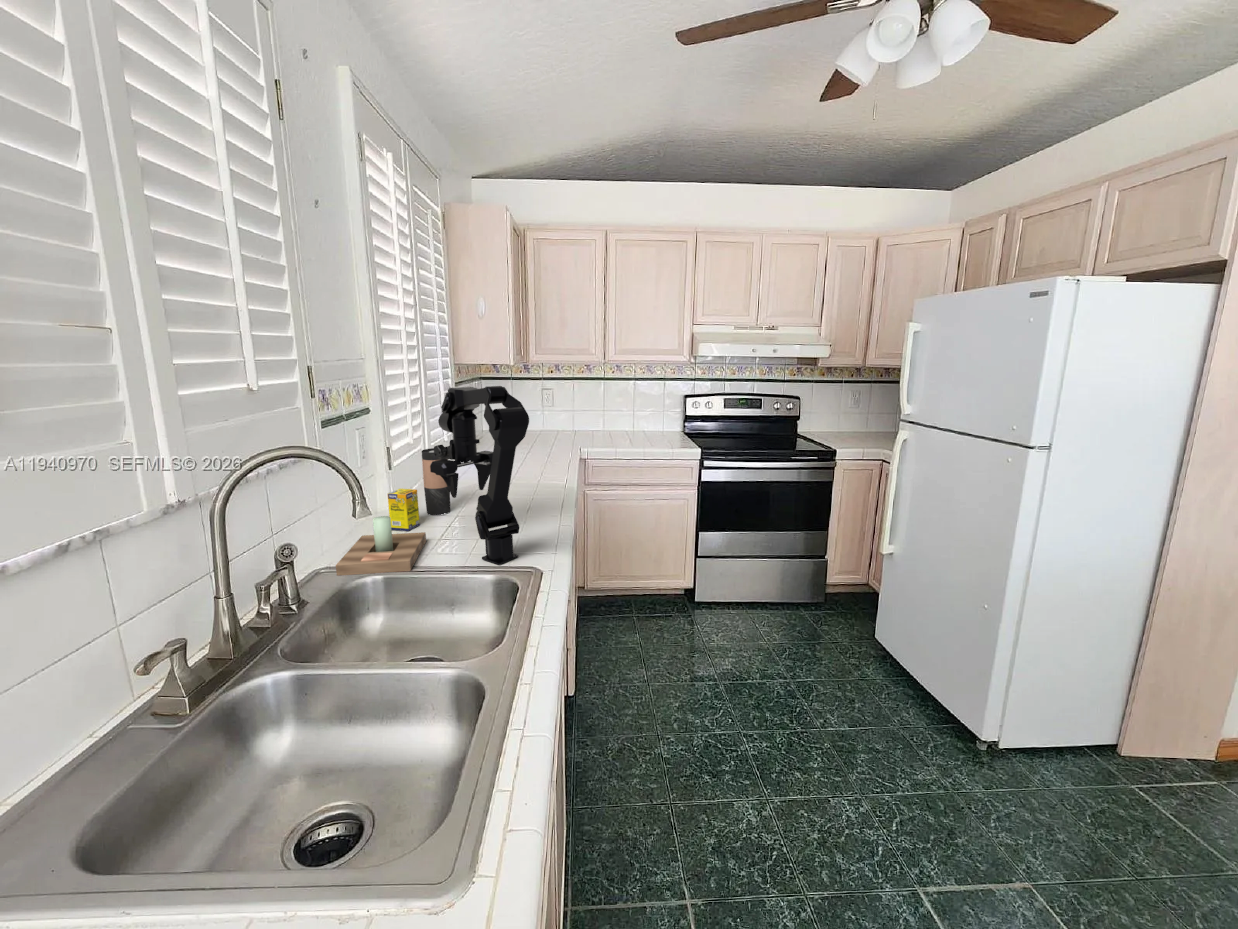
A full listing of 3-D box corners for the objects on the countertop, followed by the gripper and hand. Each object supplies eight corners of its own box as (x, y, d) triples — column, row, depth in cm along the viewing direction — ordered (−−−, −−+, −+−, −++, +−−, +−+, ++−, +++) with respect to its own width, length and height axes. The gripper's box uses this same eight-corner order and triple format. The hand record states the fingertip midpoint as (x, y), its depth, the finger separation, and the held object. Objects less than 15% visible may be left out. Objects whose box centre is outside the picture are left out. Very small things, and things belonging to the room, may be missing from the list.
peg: (397, 556, 133) (393, 518, 130) (382, 561, 129) (378, 522, 127) (388, 552, 135) (384, 515, 133) (373, 557, 132) (369, 519, 130)
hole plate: (363, 544, 140) (362, 534, 140) (426, 541, 143) (425, 531, 142) (336, 575, 121) (335, 564, 121) (410, 571, 124) (409, 560, 123)
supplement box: (408, 531, 150) (405, 494, 148) (389, 530, 152) (386, 493, 149) (420, 525, 156) (417, 489, 154) (402, 523, 157) (399, 488, 155)
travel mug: (456, 509, 171) (452, 448, 167) (442, 516, 164) (437, 453, 160) (435, 507, 173) (431, 447, 169) (420, 514, 166) (415, 451, 162)
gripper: (471, 429, 150) (474, 482, 153) (414, 437, 135) (419, 497, 138) (499, 432, 144) (501, 487, 147) (442, 441, 129) (447, 503, 132)
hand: (468, 493), depth 141 cm, fingers open, 9 cm apart
